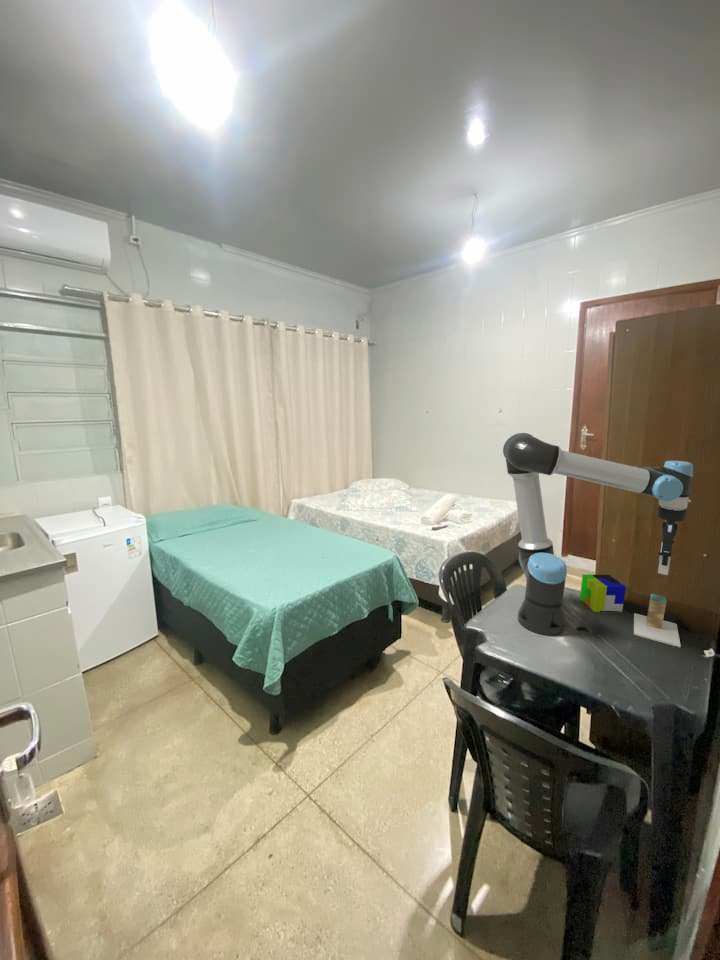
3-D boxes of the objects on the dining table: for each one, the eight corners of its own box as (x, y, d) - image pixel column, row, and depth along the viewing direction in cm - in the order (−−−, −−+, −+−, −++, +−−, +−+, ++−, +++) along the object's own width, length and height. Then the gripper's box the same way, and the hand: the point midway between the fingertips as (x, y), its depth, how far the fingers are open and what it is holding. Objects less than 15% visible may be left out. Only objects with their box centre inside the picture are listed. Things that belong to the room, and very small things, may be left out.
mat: (633, 634, 129) (634, 633, 129) (633, 614, 141) (634, 613, 141) (680, 647, 122) (680, 645, 122) (676, 625, 135) (676, 623, 134)
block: (646, 625, 133) (651, 598, 131) (646, 620, 137) (650, 593, 135) (661, 629, 131) (666, 601, 129) (660, 623, 134) (665, 596, 132)
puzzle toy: (622, 612, 143) (625, 586, 141) (594, 612, 143) (597, 586, 141) (605, 598, 153) (609, 574, 151) (579, 598, 153) (582, 574, 151)
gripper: (687, 518, 119) (677, 583, 124) (686, 501, 138) (677, 558, 143) (657, 513, 124) (647, 576, 128) (659, 498, 143) (651, 553, 147)
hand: (663, 567), depth 135 cm, fingers open, 13 cm apart
